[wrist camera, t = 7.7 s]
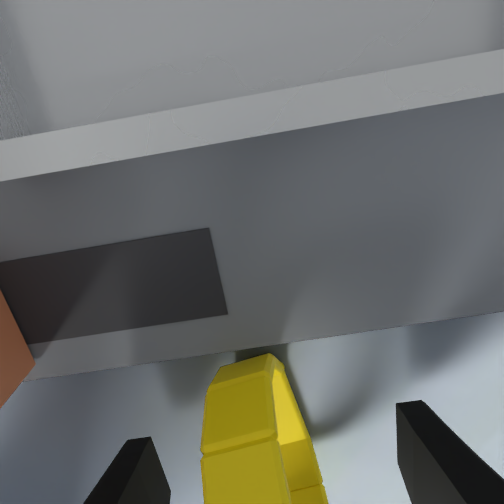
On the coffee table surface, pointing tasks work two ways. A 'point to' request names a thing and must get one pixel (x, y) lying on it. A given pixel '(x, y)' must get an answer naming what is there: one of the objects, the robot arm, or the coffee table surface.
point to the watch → (257, 439)
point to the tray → (224, 70)
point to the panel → (259, 240)
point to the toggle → (11, 353)
